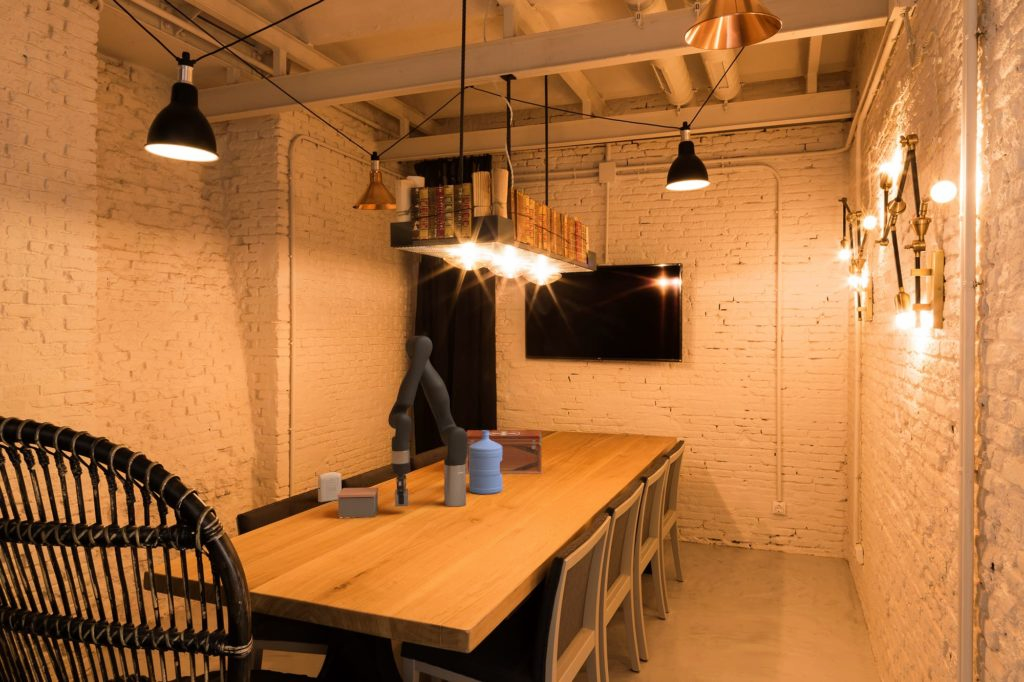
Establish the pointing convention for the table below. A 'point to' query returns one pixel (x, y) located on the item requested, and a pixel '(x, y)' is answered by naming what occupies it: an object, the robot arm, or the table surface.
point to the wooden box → (513, 450)
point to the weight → (404, 498)
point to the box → (357, 506)
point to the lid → (358, 492)
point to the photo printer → (329, 486)
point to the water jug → (485, 466)
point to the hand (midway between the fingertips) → (401, 502)
